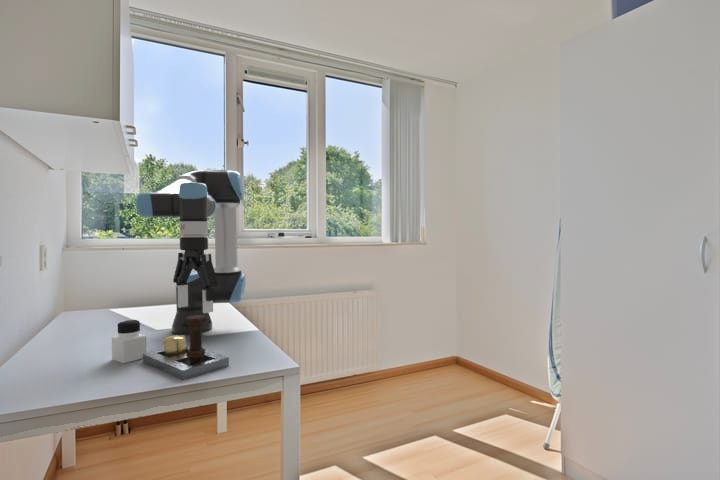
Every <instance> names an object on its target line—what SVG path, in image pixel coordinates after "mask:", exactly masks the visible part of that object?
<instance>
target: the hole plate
mask: <svg viewBox="0 0 720 480" xmlns="http://www.w3.org/2000/svg"><path fill="white" fill-rule="evenodd" d="M186 340H187V339H186V335H184V334H178V335H177V334H176V335H175V334H174V335H170V336H167V337H164V338H163V349H159V350H155V351H151V352H146V353H145V354H143V359H142V363H144V364H146V365H148V366H150V367H153V368H154V369H158V370H160V371H162V372H164V373H167V374H169V375H171V376H174V377H176V378H178V379H180V380H182V381H184V380H187V379H191V378H194V377H197V376H200V375H203V374H206V373H210V372H213V371H216V370H220V369H223V368H226V367H229V366H230V357H229V356H226V355H222V354H221V353H216V352H213V351H210V350H207V349H205V355H204V356H202V363H199V364H195V365H192V366H190V363H191V362H190V358H189V357H187V351H188V350H189V349H190V343H189V344H188V343H186Z"/></svg>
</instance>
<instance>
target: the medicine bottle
mask: <svg viewBox="0 0 720 480" xmlns="http://www.w3.org/2000/svg"><path fill="white" fill-rule="evenodd" d="M145 353H147V335H144V334H141V322H140V320H137V319H125V320H122V321H119V322H118V323H117V335H116V336H112V337H111V360H113V361H116V362H118V363H121V364H123V363H124V364H128V363H130V362H131V361H132V362H135V361H139V360H143V354H145Z"/></svg>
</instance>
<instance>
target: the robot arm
mask: <svg viewBox="0 0 720 480" xmlns="http://www.w3.org/2000/svg"><path fill="white" fill-rule="evenodd" d="M244 199H245V190H244V184H243V180H242V176H241V174H240V172H238V171H237V170H228V169H226V170H222V169H220V170H217V169H216V170H212V169H211V170H209V169H207V170H204V169H201V170H194V171H193V170H192V171H190V172H187V173H184V174H182V175H181V174H180V175H179V176H178V177H176V178H175V179H174V180H173V182H172V183H170V184H169V185H167V186H165V187H163V188H161V189H159V190H157V191H155V192H150V191H147V192H141V193H139V194H138V195H137V196H136V200H135V205H136V207H135V208H136V211H137V213H138V215H139V216H140V217H142V218H179V225H178V227H179V235H180V236H182V237H180V238H179V250H181V251H182V252H178V256H177V262H176V263H177V264H176V267H175V270H174V276H173V279H172V280H173V281H172V282H173V283H174V284H175V283H176V286H175V296H176V297H175V298H176V301H175V302H176V303H175V305H176V306H175V307H176V312H175V316H174V318H173V322H172V325H171V332H172V333H173V334H178V335H188V334H189V335H190V328H189V324H187V323H185V318H186V317H188V316H193V315H204V316H205V317H206V322H203V323H202V333H204V332H207V331H210V330H211V329H212V328H213V322H212V319H211V316H210V313H213V312H214V304H226V303H227V304H228V303H229V304H233V303H239V302H241V301H242V300H243V297H244V293H245V288H246V274H244V273H242V269H241V267H239V264H238V225H237V224H238V223H237V222H238V221H237V215H238V213H237V208H238V207H239V206H240V205H241V201H243V200H244ZM213 215H214V250H215V251H214V256H215V257H214V259H215V260H214V261H215V267H214V266H213V262H212V261H213V260H212V253H205V251H208V250H209V238H208V237H207V236H208V235H209V226H208V225H209V223H208V218H210V217H211V216H213ZM183 251H184V252H183ZM193 270H194V272H193ZM195 271H196V272H195Z"/></svg>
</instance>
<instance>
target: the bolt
mask: <svg viewBox="0 0 720 480" xmlns="http://www.w3.org/2000/svg"><path fill="white" fill-rule="evenodd" d="M203 322H206V317H205V316H204V315H193V316H188V317H186V318H185V323H187V324H189V328H190V334H189V345H190V349H189V350H188V351H187V357H189V358H190V362H191V363H190V365H189V366H192V365H195V364H199V363H202V356H204V355H205V350H206V349H205V348H203V346H202V343H203V341H202V340H203V338H202V333H203V332H202V323H203Z"/></svg>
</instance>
